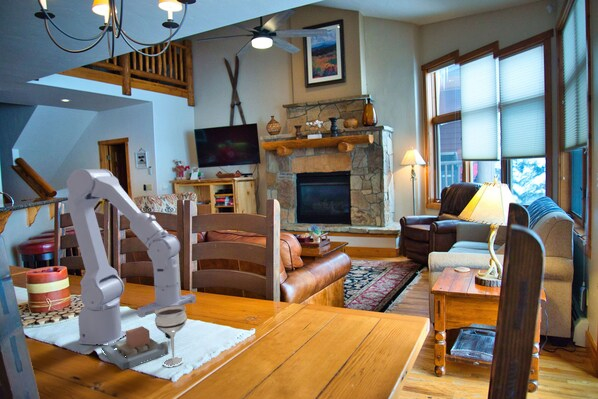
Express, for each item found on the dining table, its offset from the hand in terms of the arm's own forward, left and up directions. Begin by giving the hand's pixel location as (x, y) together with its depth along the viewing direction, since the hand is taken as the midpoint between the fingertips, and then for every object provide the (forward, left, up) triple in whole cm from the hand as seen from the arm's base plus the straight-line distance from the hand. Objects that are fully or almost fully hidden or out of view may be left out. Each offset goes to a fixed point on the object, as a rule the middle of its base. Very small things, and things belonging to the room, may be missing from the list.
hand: (169, 337), depth 102 cm
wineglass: (+7, -11, -1) cm, 13 cm away
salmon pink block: (-4, -7, +1) cm, 8 cm away
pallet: (-5, -7, -1) cm, 8 cm away
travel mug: (-17, +30, -1) cm, 34 cm away
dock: (-5, -7, -1) cm, 8 cm away
